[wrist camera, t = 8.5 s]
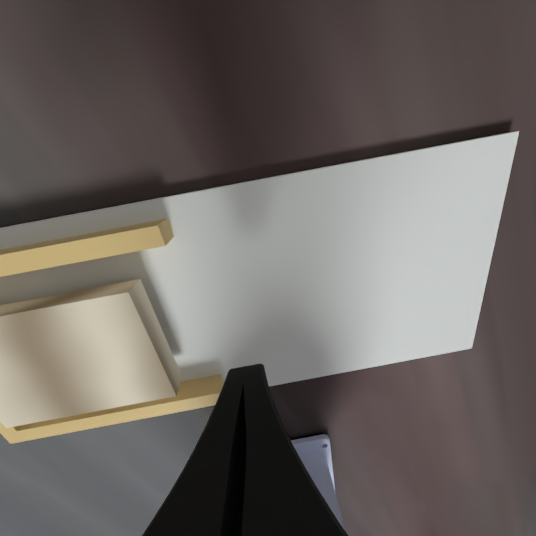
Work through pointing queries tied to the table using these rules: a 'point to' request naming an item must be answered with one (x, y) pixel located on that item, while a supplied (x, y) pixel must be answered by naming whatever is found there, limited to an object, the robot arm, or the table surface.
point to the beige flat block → (82, 354)
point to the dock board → (285, 268)
